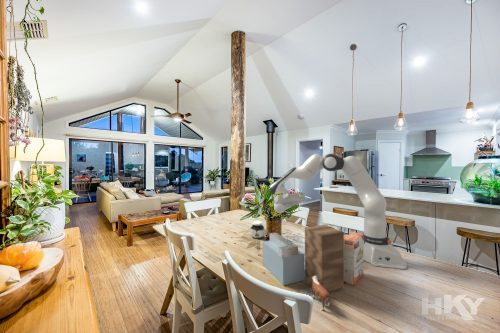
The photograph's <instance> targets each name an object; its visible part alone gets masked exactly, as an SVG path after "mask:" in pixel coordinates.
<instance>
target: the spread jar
mask: <svg viewBox="0 0 500 333" xmlns="http://www.w3.org/2000/svg"><path fill="white" fill-rule="evenodd" d="M266 229H267V228H266V227H265V226H264V225H263V222H262V221H260V220H255V221H253V222H252V226H251V227H250V235H251V237H252V238H253V239H254V240H261V239H263V238H264V236H265V237H267V236H266Z"/></svg>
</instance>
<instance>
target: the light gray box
mask: <svg viewBox="0 0 500 333" xmlns="http://www.w3.org/2000/svg"><path fill="white" fill-rule="evenodd" d="M269 241H271V242H272V243H274V244H275V245H276V246H278V247H279V256H280V257H281V258H284V257H289V256H294V255H298V250H299V246H298V245H297V244H296V243H294V242H291V241H290V240H288V239H287V238H285V237H284V236H282V235H280V234H279V233H277V232H270V233H269Z"/></svg>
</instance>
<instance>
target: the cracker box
mask: <svg viewBox="0 0 500 333" xmlns="http://www.w3.org/2000/svg"><path fill="white" fill-rule="evenodd" d="M364 261H365V260H364V234H363V233H360V232H355V231H353V232H351V233H349V234H348V235H347V236H345V237H344V276H343V283H346V284H349V285H352V286H355V285H356V284H357V282H359V280H360V279H361V278H362V277H363V275H364V265H365V264H364Z"/></svg>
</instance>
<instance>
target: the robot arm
mask: <svg viewBox="0 0 500 333" xmlns="http://www.w3.org/2000/svg"><path fill="white" fill-rule="evenodd" d="M323 169H324V170H326V172H327V171H328V172H337V171H341V172H343V173H344V174H345V176H346V177H347V179H348V180H349V182H350V184H351V186H352V187H353V189H354V190H355V193H356V194H357V195H358V198H359V200H360V202H361V203H362V205H363V209H364V210H363V233H362V234H364V261H365V262H367V263H369V264H371V265H372V266H375V267H382V268H389V269H398V270H400V269H401V270H406V269H407V268H408V263H407V261H406V260H405V259H403V256H402V254H401V252H400V250H399V249H398V248H396V247H395V246H394V245H392V240H391V239H390V237H389V236H387V235H386V234H387V228H386V226H387V220H386V209H387V205H388V203H387V201H386V198H385V196H384V195H383V194H382V193H381V191H380V190H379V188H378V186H377V184H376V183H375V181H374V180H373V179H372V177H371V175H370V174H369V172H368V171H367V169H366V167H365V166H364V165H363V163H361V161H360V160H359V158H357V157H356V156H354V155H349V156H346V157H341V156H340V155H338V154H336V153H328V154H325V155H324V156H322V155H321V154H318V153H313V154H312V155H310V157H308V158H306V160H305V161H304V162H303V163H302V164H301V165H300V166H298V167H294V166H293V167H292V168H291V169H290V170H288V171H287V172H285V174H283V175H282V176H281V177H280V178H278V179H277V180H276V181H274V182H273V183H272V184H271V185H270V186H269V187H270V188H269V187H268V190H269V189H270V192H271V193H272V194H278V193H283V195H277V196H276V197H273V200H272V202H271V203H272V204H273V203H274V210H275V211H276V212H278V213H280V214H282V213H283V212H285V211H286V210H288V209H290V208H293V207H296V206H299V204H301V203H303V202H304V201H305V200H306V195H305V192H304V191H300V192H299V193H292V194H290V192H291V191H290V190H288V189H287V188H285V187H284V186H283V184H284V183H286V182H287V181H288V180H289V179H298V180H301V181H304V182H307V181H310V180H313V178H314V177H315V176H317V174H318V173H320V171H321V170H323ZM287 190H288V191H287Z"/></svg>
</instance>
